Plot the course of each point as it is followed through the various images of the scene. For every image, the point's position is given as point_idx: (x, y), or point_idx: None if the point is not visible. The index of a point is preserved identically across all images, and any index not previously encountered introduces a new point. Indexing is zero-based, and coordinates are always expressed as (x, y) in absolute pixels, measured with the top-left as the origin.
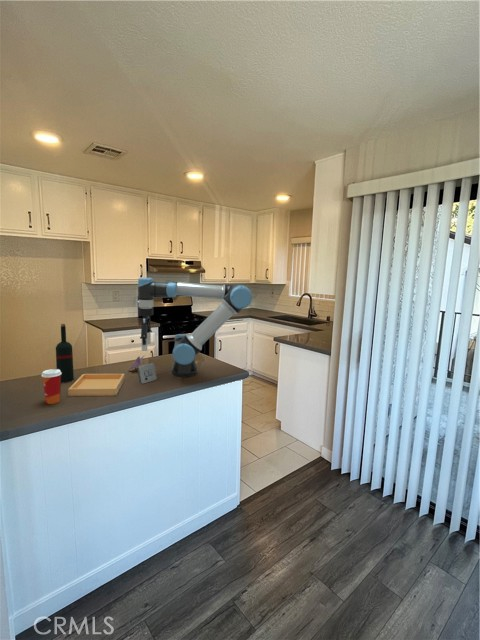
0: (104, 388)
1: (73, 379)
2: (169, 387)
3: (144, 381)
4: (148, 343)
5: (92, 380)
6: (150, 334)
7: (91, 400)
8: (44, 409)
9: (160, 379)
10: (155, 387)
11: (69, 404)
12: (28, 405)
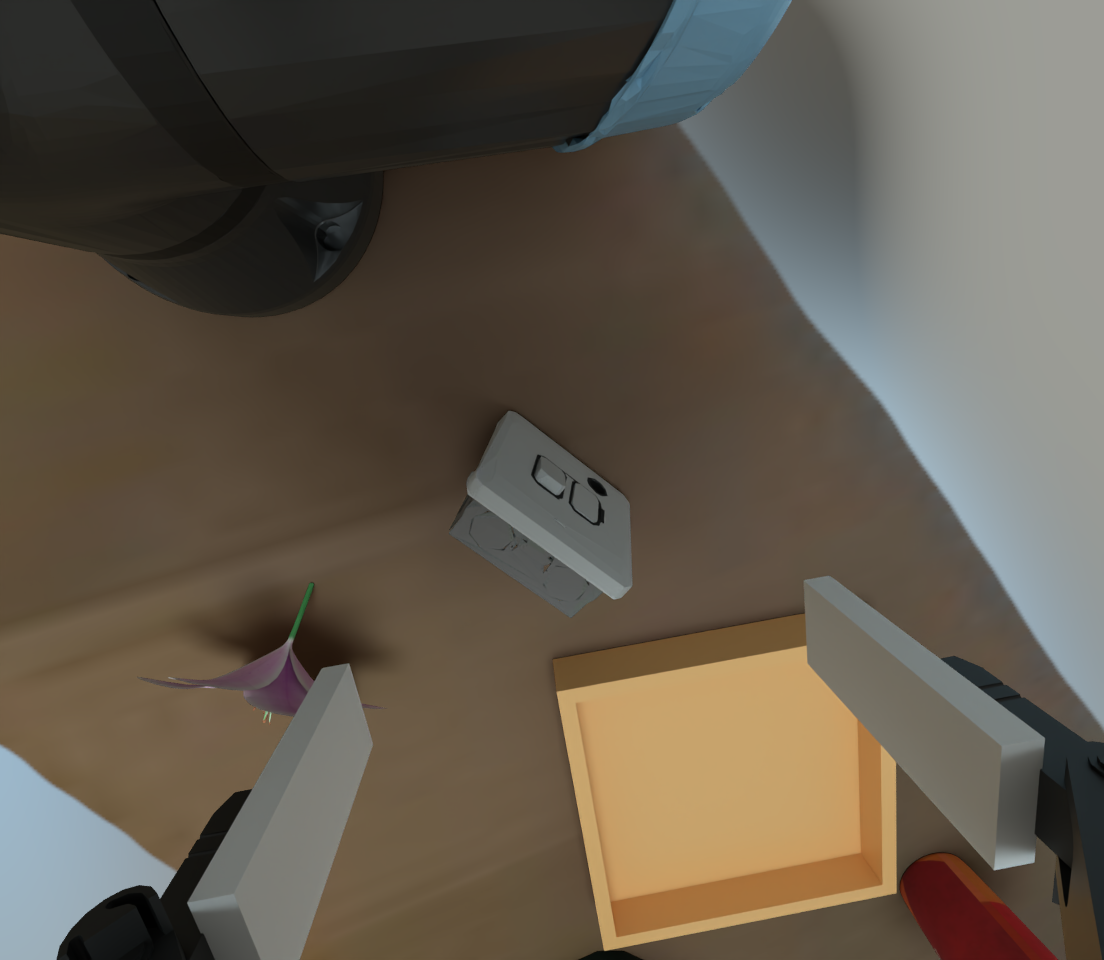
0: None
1: (599, 955)
2: (682, 242)
3: (613, 491)
4: (352, 706)
5: (631, 848)
6: (223, 841)
7: None
8: (1028, 864)
9: (493, 377)
10: (691, 370)
11: None
12: None
